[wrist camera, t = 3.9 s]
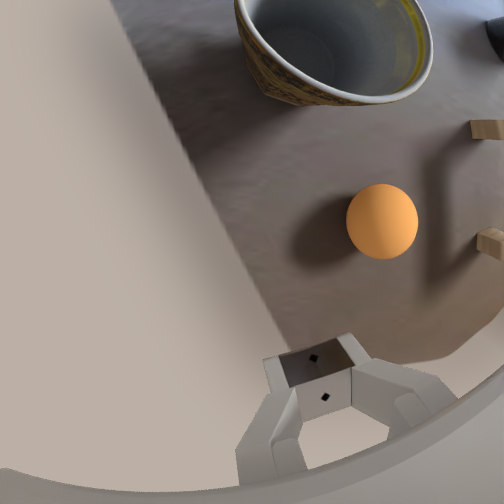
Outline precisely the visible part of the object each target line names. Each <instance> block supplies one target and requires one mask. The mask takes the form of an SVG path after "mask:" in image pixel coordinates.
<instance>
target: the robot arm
mask: <svg viewBox="0 0 504 504" xmlns="http://www.w3.org/2000/svg"><path fill="white" fill-rule="evenodd" d="M263 364H264V369H265V372H266V376H267V380H268V384H269V387H270V391H271V394H267V395H266V397H265V399H264V400H263V402H262V404H261V406H260V408H259V410H258V411H257V413H256V415H255V417H254V418H253V420H252V422H251V424H250V426H249V427H248V429H247V431H246V432H245V434H244V436H243V437H242V439H241V441H240V442H239V444H238V446H237V447H236V449H235V452H236V461H237V469H238V477H239V486H233V487H226V488H218V489H209V490H198V491H183V492H131V491H116V490H105V489H96V488H89V487H82V486H76V485H70V484H65V483H60V482H55V481H51V480H47V479H42V478H39V477H35V476H31V475H28V474H24V473H21V472H18V471H15V470H12V469H8V468H2V469H0V504H504V365H503V366H501V367H500V368H499V369H498V370H497V371H495V372H494V373H493V374H492V375H491V376H489V377H488V378H487V379H485V380H484V381H483V382H481V383H480V384H479V385H478V386H476V387H475V388H474V389H472V390H471V391H469V392H468V393H467V394H465V395H464V396H462V397H461V398H459V399H458V398H457V397H456V396H455V395H454V394H453V393H452V392H451V390H450V389H449V388H448V387H447V386H446V385H445V384H444V383H443V382H442V381H441V380H440V378H439V377H437V376H436V375H432V374H428V373H425V372H421V371H418V370H414V369H411V368H407V367H403V366H400V365H397V364H394V363H390V362H387V361H384V360H381V359H377V358H374V359H371V358H370V357H369V355H368V354H367V353H366V352H365V350H364V349H363V348H362V346H361V345H360V344H359V343H358V341H357V340H356V339H355V338H354V336H353V335H352V334H351V333H349V332H348V333H346V334H343V335H340V336H338V337H335V338H333V339H330V340H327V341H325V342H322V343H319V344H316V345H312V346H309V347H306V348H302V349H299V350H295V351H292V352H288V353H284V354H281V355H278V356H274V357H270V358H266V359H263ZM349 406H352V407H353V408H355V409H357V410H359V411H361V412H362V413H364V414H366V415H368V416H370V417H372V418H373V419H375V420H377V421H379V422H381V423H383V424H385V425H387V426H389V427H390V428H389V433H388V437H387V440H386V441H383V442H381V443H379V444H377V445H375V446H372V447H370V448H368V449H365V450H363V451H361V452H358V453H356V454H353V455H350V456H348V457H345V458H343V459H340V460H337V461H334V462H331V463H329V464H325V465H322V466H319V467H316V468H313V469H310V470H308V469H307V466H306V463H305V461H304V457H303V455H302V451H301V449H300V446H299V443H298V437H299V434H300V431H301V428H302V425H303V422H306V421H309V420H312V419H315V418H317V417H320V416H323V415H326V414H329V413H331V412H335V411H338V410H341V409H344V408H346V407H349Z"/></svg>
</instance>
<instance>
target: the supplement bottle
mask: <svg viewBox="0 0 504 504" xmlns="http://www.w3.org/2000/svg"><path fill="white" fill-rule="evenodd" d="M487 32H488V36H489V38H490V41H491V43H492V45H493V47H494V49H495V51H496V52H497V54H498V55H499V57H500V58H501V59H502V60H503V61H504V17H499V18H495V19H492V20H489V21H488V23H487Z"/></svg>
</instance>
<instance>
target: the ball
mask: <svg viewBox="0 0 504 504" xmlns="http://www.w3.org/2000/svg"><path fill="white" fill-rule="evenodd" d="M346 224H347V230H348V234H349V236H350V238H351V240H352V242H353V243H354V245H355V246H356V247H357V248H358V249H359V250H360V251H361V252H362V253H364V254H366V255H368V256H370V257H372V258H377V259H390V258H393V257H396V256H398V255H400V254H402V253H403V252H404V251H406V250H407V249H408V248H409V246H410V245H411V244H412V242H413V240H414V238H415V236H416V233H417V228H418V216H417V212H416V209H415V206H414V204H413V202H412V201H411V199H410V198H409V197H408V196H407V195H406V194H405V193H404V192H403V191H402V190H400V189H398V188H397V187H394V186H392V185H388V184H375V185H371V186H368V187H366V188H364V189H363V190H361V191H360V192H359V193H358V194H357V195H356V196H355V197H354V198H353V200H352V201H351V203H350V205H349V208H348V211H347V217H346Z"/></svg>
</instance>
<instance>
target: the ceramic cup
mask: <svg viewBox="0 0 504 504" xmlns="http://www.w3.org/2000/svg"><path fill="white" fill-rule="evenodd" d="M234 7H235V15H236V21H237V26H238V31H239V34H240V37H241V39H242V46H243V51H244V57H245V62H246V65H247V67H248V69H249V71H250V72H251V74H252V76H253V77H254V79H255V81H256V82H257V84H258V86H259V87H260V89H261V91H262V92H263V94H265V95H267V96H270V97H273V98H276V99H279V100H282V101H285V102H288V103H291V104H293V105H296V106H308V105H309V106H311V105H331V106H364V105H376V104H386V103H392V102H396V101H398V100H401V99H404V98H406V97H407V96H409V95H411V94H412V93H414V92H415V91H416V90H417V89H418V88H419V87H420V86H421V85H422V84H423V83H424V81H425V80H426V78H427V76H428V74H429V71H430V68H431V65H432V59H433V41H432V36H431V31H430V28H429V25H428V22H427V20H426V17H425V15H424V13H423V11H422V9H421V7H420V5H419V4H418V2H417V1H416V0H234Z"/></svg>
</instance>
